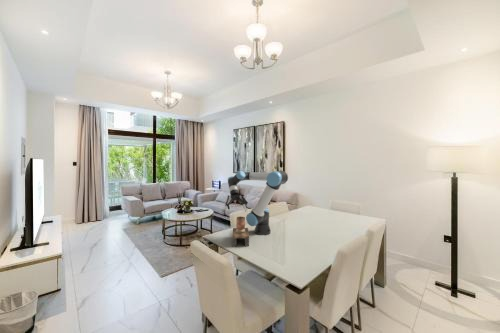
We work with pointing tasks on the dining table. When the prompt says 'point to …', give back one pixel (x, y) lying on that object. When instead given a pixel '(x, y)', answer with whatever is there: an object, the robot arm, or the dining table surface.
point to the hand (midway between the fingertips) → (238, 211)
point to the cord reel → (240, 224)
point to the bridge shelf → (241, 236)
